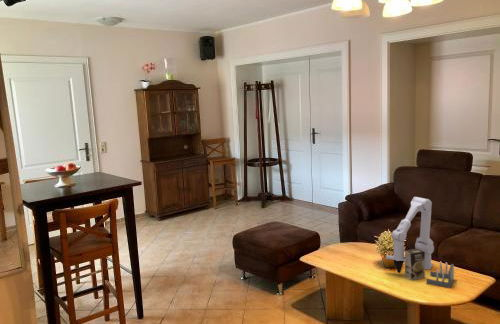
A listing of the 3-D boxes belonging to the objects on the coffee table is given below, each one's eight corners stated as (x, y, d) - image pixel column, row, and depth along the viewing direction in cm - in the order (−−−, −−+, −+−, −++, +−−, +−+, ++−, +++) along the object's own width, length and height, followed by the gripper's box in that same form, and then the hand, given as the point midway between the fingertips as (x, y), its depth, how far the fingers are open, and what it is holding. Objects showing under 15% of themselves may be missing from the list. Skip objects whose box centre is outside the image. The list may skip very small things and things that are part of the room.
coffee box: (411, 280, 232) (411, 253, 230) (404, 276, 238) (404, 250, 236) (425, 278, 234) (425, 251, 232) (417, 273, 240) (417, 247, 238)
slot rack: (430, 275, 237) (430, 259, 236) (453, 279, 231) (453, 263, 229) (426, 283, 227) (426, 267, 225) (450, 288, 220) (450, 271, 219)
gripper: (384, 250, 240) (384, 272, 241) (410, 254, 232) (410, 276, 233) (387, 247, 246) (388, 268, 247) (412, 250, 238) (413, 272, 239)
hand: (399, 272), depth 241 cm, fingers closed
